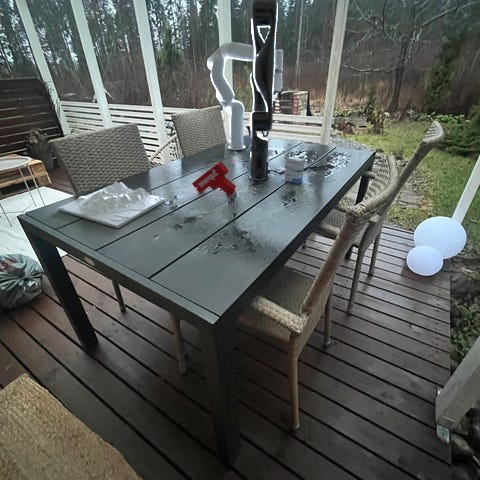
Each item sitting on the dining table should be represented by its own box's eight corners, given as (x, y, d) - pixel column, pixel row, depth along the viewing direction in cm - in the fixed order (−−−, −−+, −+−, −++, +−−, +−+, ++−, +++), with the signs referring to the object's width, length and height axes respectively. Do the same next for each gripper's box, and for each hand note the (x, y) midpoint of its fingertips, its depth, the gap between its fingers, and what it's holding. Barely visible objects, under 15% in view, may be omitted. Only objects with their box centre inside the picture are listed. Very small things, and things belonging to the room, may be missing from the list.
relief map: (117, 228, 103) (114, 216, 100) (59, 210, 116) (54, 199, 113) (165, 201, 123) (163, 190, 120) (110, 188, 136) (107, 178, 134)
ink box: (302, 181, 142) (305, 159, 136) (297, 184, 139) (300, 161, 133) (289, 177, 147) (291, 156, 141) (284, 180, 144) (285, 158, 138)
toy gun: (240, 187, 127) (221, 160, 123) (237, 190, 124) (218, 163, 120) (214, 205, 137) (195, 180, 133) (210, 208, 134) (191, 183, 130)
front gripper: (272, 111, 155) (270, 142, 164) (247, 111, 157) (247, 141, 166) (271, 113, 149) (270, 145, 158) (246, 113, 151) (245, 144, 160)
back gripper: (279, 71, 193) (278, 98, 202) (264, 71, 183) (263, 100, 192) (288, 71, 189) (286, 99, 198) (272, 71, 178) (271, 100, 188)
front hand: (258, 143), depth 162 cm, fingers closed on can, 4 cm apart
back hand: (274, 99), depth 195 cm, fingers open, 9 cm apart
